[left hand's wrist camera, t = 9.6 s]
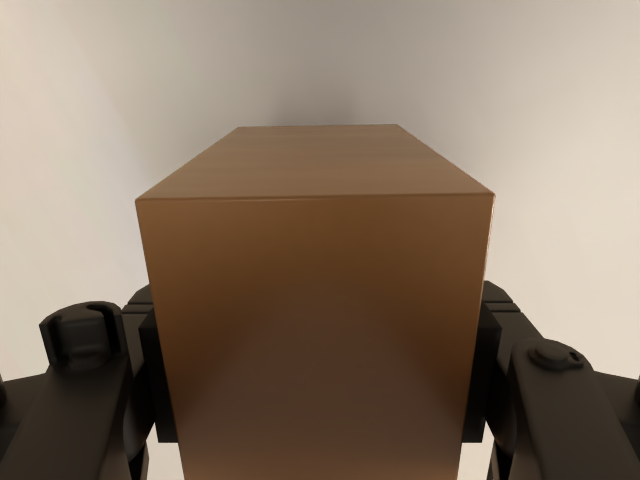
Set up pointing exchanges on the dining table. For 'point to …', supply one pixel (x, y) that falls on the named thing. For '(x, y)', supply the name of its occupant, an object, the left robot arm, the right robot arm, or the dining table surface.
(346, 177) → the beam
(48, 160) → the dining table surface
